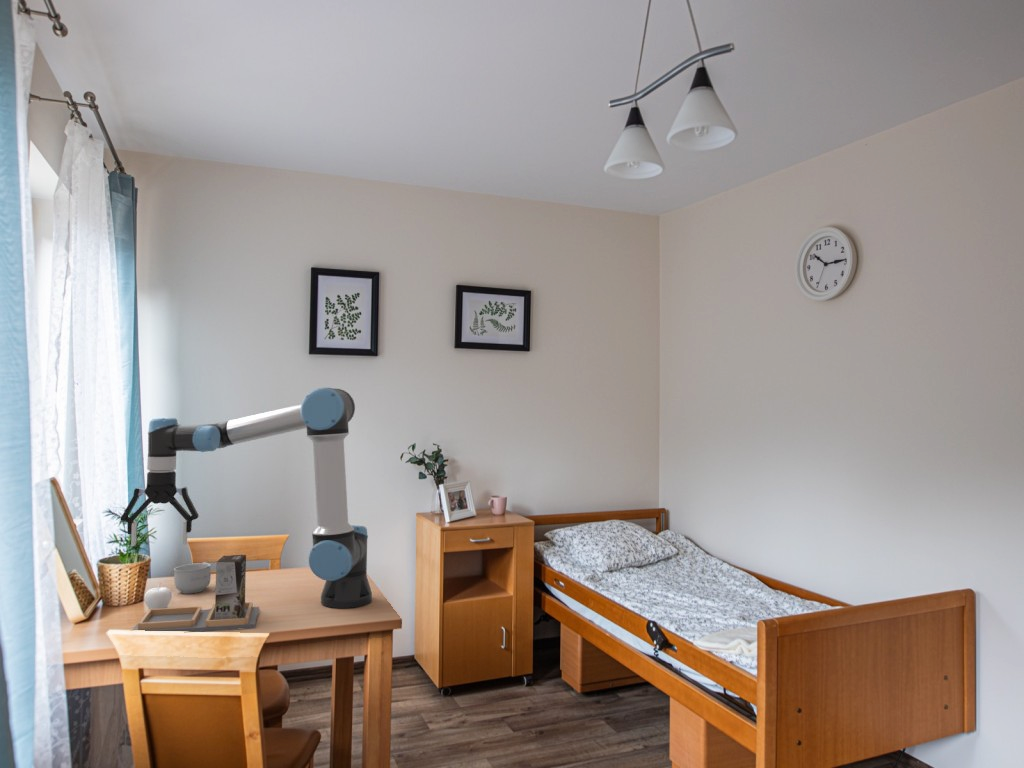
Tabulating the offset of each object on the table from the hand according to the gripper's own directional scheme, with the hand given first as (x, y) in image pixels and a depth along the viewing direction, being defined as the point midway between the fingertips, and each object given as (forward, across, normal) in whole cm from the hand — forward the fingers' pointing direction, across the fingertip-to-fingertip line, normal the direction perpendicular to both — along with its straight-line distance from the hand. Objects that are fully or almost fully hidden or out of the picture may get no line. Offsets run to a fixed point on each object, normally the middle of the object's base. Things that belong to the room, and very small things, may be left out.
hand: (159, 544), depth 211 cm
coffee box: (+18, -21, +15) cm, 31 cm away
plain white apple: (+19, 0, 0) cm, 19 cm away
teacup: (+19, -7, -21) cm, 29 cm away
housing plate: (+19, -13, +15) cm, 27 cm away
